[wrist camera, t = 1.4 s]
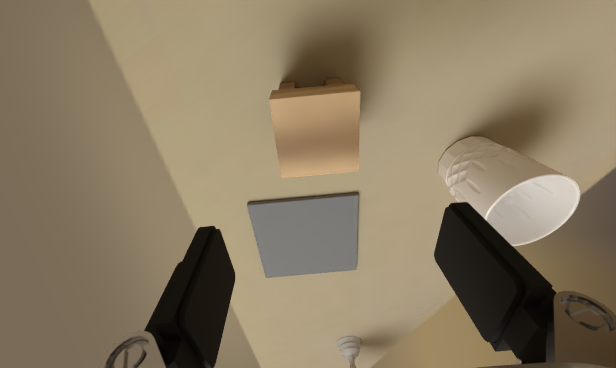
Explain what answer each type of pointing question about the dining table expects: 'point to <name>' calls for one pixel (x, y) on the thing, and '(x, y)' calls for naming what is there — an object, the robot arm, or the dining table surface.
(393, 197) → the dining table surface
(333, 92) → the stool
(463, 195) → the white cup
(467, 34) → the dining table surface
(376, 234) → the dining table surface
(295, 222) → the mat
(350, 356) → the chalice
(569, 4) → the dining table surface
